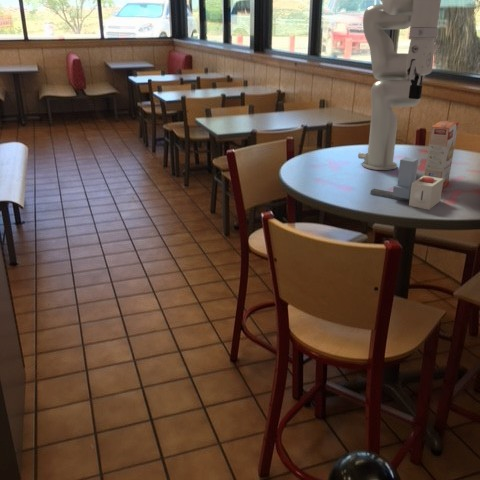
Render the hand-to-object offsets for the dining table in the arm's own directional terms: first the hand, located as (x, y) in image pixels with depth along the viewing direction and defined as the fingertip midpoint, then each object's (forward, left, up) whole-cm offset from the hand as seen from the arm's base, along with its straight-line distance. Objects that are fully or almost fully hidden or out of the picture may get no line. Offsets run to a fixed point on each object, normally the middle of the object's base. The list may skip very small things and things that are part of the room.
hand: (414, 98), depth 157 cm
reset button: (+11, -11, -24) cm, 29 cm away
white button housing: (+11, -11, -29) cm, 33 cm away
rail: (+1, -11, -29) cm, 31 cm away
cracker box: (+8, +8, -29) cm, 31 cm away
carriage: (+5, -11, -27) cm, 30 cm away
